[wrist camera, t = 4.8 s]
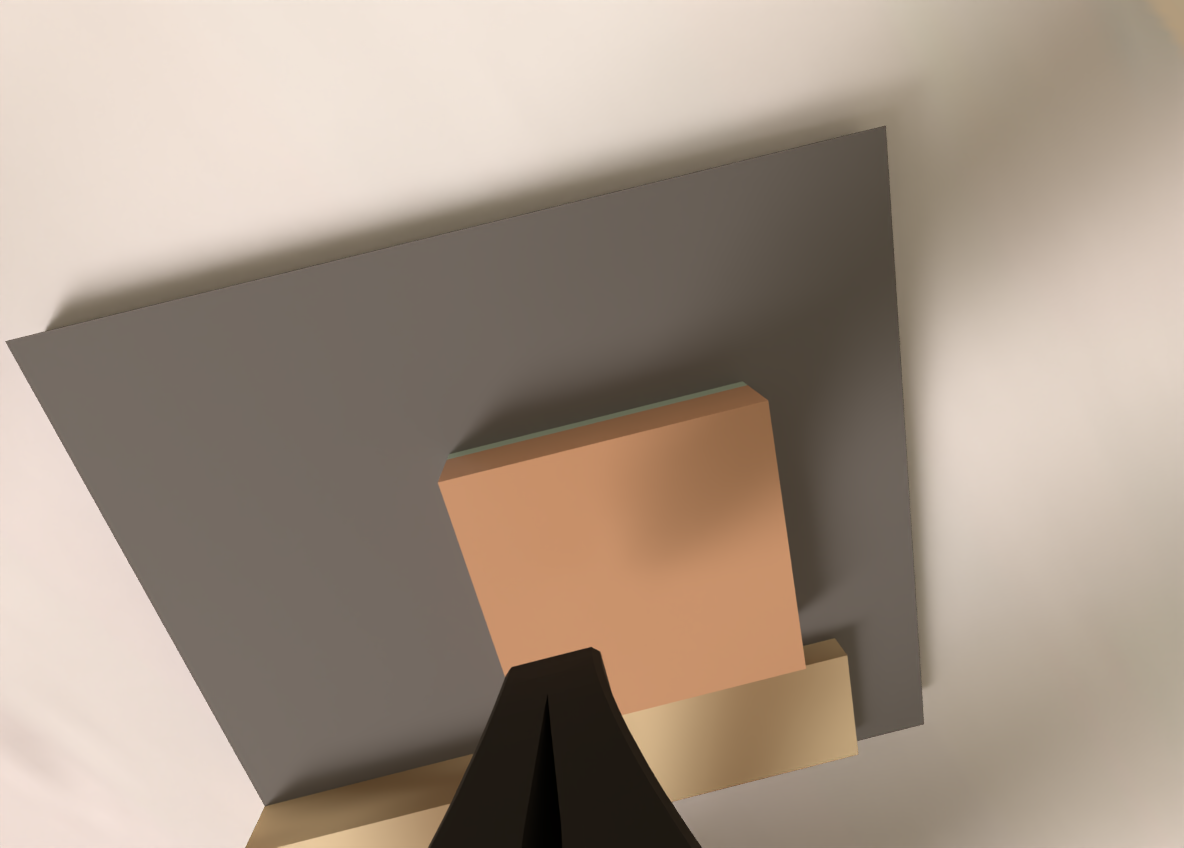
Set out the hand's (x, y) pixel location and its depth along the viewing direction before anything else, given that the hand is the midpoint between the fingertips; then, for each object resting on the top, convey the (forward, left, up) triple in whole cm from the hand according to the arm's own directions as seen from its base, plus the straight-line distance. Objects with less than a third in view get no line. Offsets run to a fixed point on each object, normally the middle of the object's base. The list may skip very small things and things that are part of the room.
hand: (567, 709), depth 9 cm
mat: (0, 0, -5) cm, 5 cm away
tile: (-2, 0, -3) cm, 4 cm away
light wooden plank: (0, -5, -4) cm, 7 cm away
